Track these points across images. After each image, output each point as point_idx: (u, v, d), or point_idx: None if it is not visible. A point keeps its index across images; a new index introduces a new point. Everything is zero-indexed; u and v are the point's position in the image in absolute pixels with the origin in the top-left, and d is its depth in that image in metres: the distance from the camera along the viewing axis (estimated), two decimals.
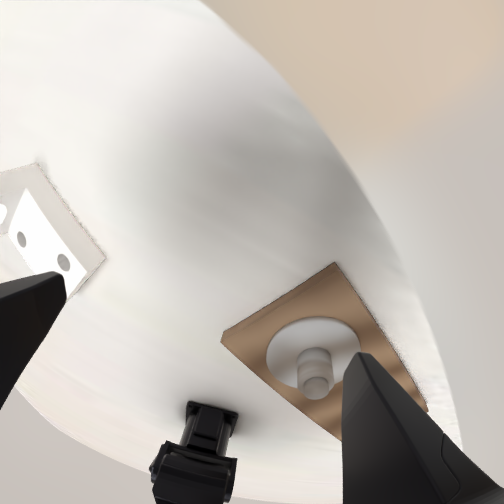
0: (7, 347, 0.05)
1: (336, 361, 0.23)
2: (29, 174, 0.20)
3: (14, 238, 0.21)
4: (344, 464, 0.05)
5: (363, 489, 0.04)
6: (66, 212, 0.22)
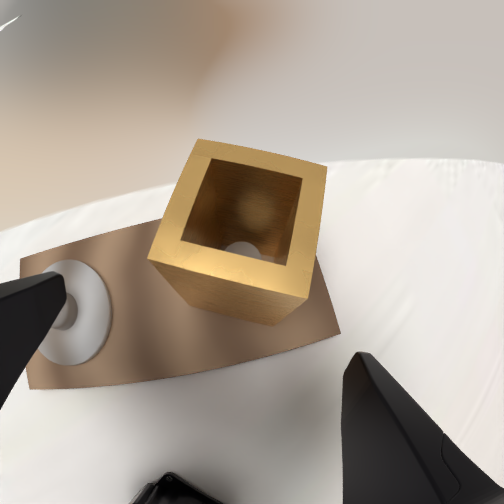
0: (7, 347, 0.05)
1: (75, 289, 0.18)
2: None
3: None
4: (344, 464, 0.05)
5: (363, 489, 0.04)
6: None
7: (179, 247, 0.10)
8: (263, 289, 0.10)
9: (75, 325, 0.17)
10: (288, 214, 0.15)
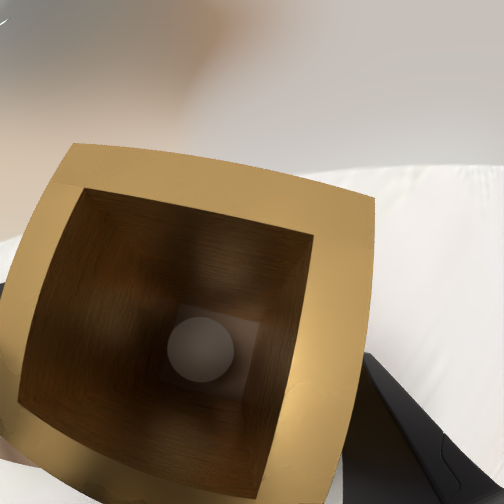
0: None
1: None
2: None
3: None
4: (344, 464, 0.05)
5: (363, 489, 0.04)
6: None
7: (19, 418, 0.03)
8: None
9: None
10: (278, 289, 0.07)
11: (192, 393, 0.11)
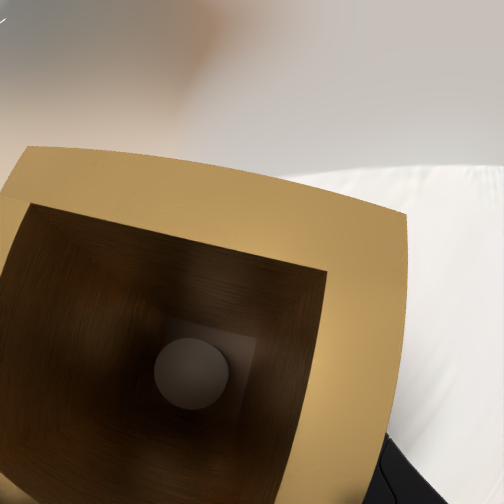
0: None
1: None
2: None
3: None
4: None
5: None
6: None
7: None
8: None
9: None
10: (276, 317, 0.06)
11: (184, 415, 0.10)
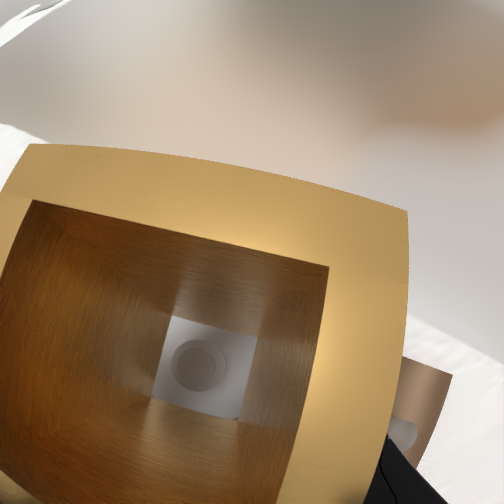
0: None
1: (233, 355, 0.17)
2: None
3: None
4: None
5: None
6: None
7: None
8: None
9: None
10: (278, 314, 0.06)
11: (184, 414, 0.10)
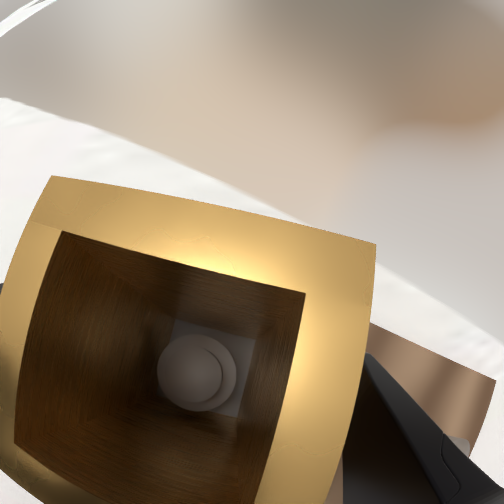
0: None
1: (246, 358, 0.13)
2: None
3: None
4: (344, 464, 0.05)
5: (363, 489, 0.04)
6: None
7: (16, 456, 0.02)
8: None
9: None
10: (271, 322, 0.07)
11: (187, 410, 0.11)
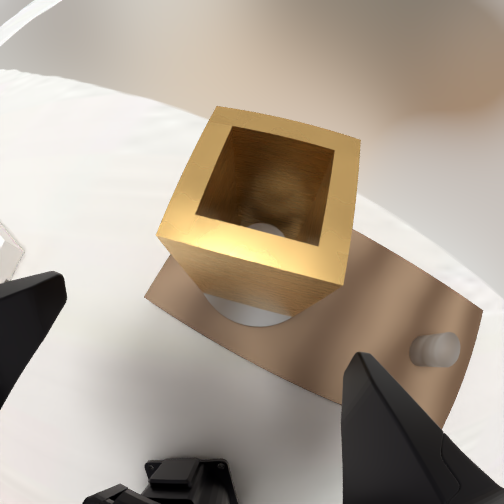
0: (7, 347, 0.05)
1: None
2: None
3: None
4: (344, 464, 0.05)
5: (363, 489, 0.04)
6: (0, 225, 0.21)
7: (194, 222, 0.09)
8: (291, 272, 0.08)
9: None
10: (315, 193, 0.13)
11: None
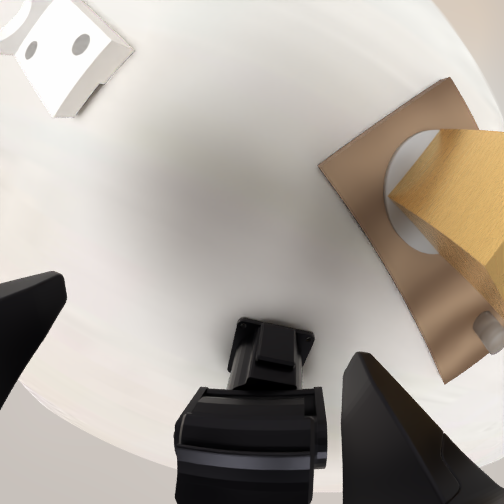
0: (7, 347, 0.05)
1: None
2: None
3: (21, 55, 0.12)
4: (344, 464, 0.05)
5: (363, 489, 0.04)
6: (97, 16, 0.13)
7: None
8: None
9: None
10: None
11: None
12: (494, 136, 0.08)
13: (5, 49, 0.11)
